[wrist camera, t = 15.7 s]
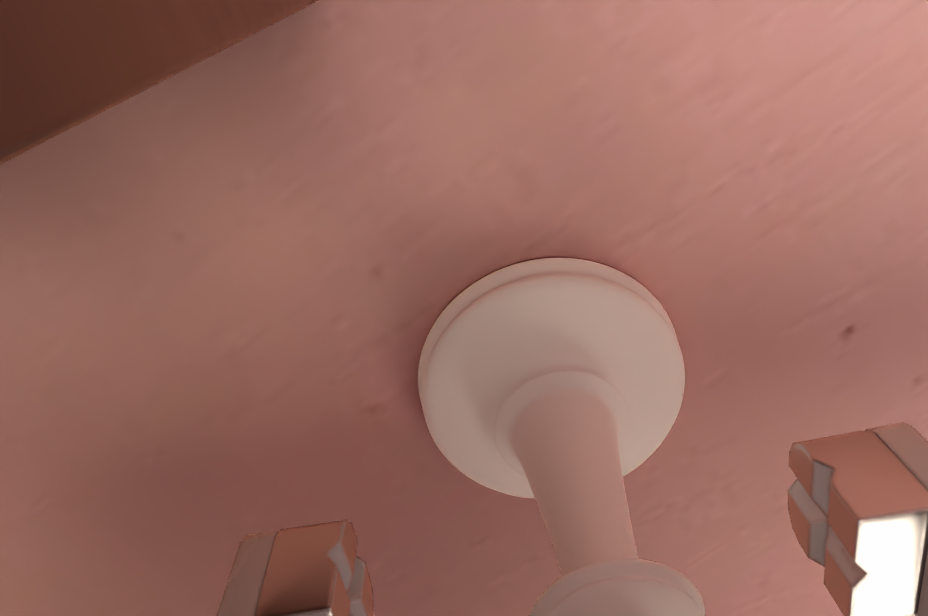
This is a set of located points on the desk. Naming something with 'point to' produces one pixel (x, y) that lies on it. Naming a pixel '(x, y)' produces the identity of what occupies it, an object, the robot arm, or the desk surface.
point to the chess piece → (563, 418)
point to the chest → (106, 54)
